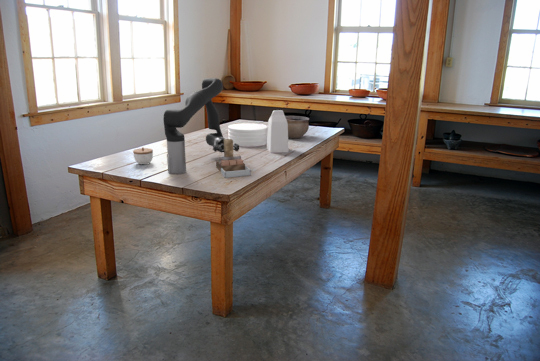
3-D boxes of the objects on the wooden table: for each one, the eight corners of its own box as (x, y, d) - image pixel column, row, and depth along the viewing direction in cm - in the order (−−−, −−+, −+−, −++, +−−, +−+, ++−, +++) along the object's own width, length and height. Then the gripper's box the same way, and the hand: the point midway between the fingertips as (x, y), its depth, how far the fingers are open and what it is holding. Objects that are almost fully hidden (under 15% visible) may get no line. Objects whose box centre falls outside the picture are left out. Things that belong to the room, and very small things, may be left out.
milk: (270, 152, 276) (270, 111, 268) (266, 148, 286) (267, 109, 279) (288, 151, 278) (289, 111, 270) (284, 148, 289) (285, 109, 281)
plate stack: (245, 137, 324) (244, 121, 321) (275, 141, 309) (275, 125, 305) (220, 143, 302) (219, 127, 299) (251, 148, 287) (251, 131, 284)
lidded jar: (157, 162, 249) (156, 146, 246) (143, 166, 240) (142, 150, 238) (144, 160, 254) (143, 144, 252) (130, 164, 246) (128, 148, 243)
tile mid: (229, 165, 230) (229, 161, 229) (228, 163, 233) (228, 159, 232) (236, 164, 231) (236, 160, 231) (234, 163, 234) (234, 159, 234)
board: (221, 173, 229) (221, 166, 228) (216, 167, 240) (216, 160, 238) (245, 171, 233) (245, 164, 232) (238, 165, 244) (238, 159, 243)
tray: (224, 177, 222) (224, 172, 221) (220, 173, 229) (220, 168, 228) (250, 175, 226) (250, 169, 225) (246, 171, 233) (246, 165, 233)
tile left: (222, 165, 229) (222, 162, 228) (220, 164, 232) (220, 160, 231) (229, 165, 230) (228, 161, 229) (227, 163, 233) (227, 160, 232)
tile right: (237, 164, 231) (237, 160, 231) (235, 162, 234) (235, 159, 234) (243, 163, 233) (243, 160, 232) (241, 162, 236) (241, 158, 235)
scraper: (219, 163, 233) (219, 141, 229) (217, 161, 238) (216, 139, 234) (241, 161, 237) (240, 140, 233) (238, 159, 242) (237, 138, 238)
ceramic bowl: (277, 134, 333) (278, 115, 329) (305, 134, 336) (306, 115, 331) (281, 140, 312) (282, 119, 308) (311, 140, 315) (311, 119, 310)
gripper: (209, 138, 245) (216, 144, 231) (233, 137, 250) (241, 142, 236) (209, 151, 247) (216, 157, 233) (233, 149, 252) (242, 155, 238)
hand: (229, 150), depth 234 cm, fingers open, 8 cm apart
